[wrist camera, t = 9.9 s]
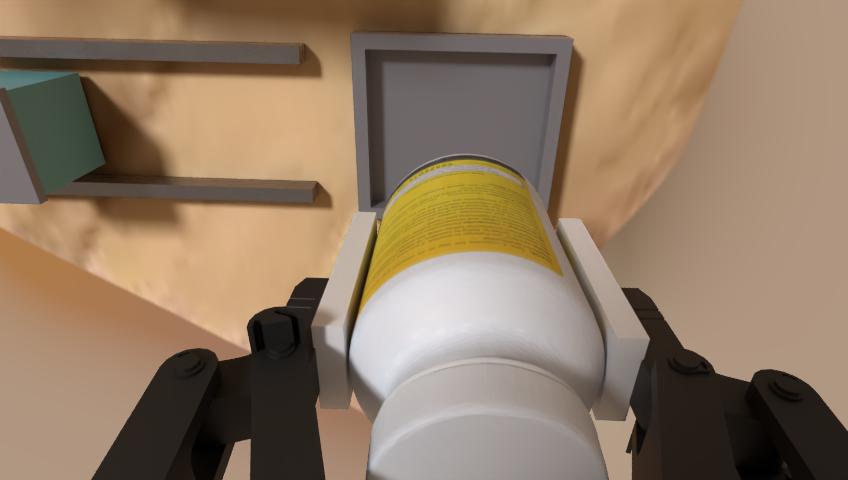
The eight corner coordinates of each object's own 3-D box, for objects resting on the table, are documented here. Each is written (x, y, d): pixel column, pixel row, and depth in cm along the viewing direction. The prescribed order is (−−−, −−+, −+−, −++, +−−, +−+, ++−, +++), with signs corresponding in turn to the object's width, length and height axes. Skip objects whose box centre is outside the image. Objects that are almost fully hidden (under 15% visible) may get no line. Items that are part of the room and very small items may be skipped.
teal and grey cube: (-4, 67, 31) (-107, 87, 25) (80, 69, 30) (-4, 89, 25) (32, 163, 34) (-52, 201, 28) (109, 166, 34) (40, 204, 28)
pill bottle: (357, 178, 19) (251, 416, 8) (521, 123, 17) (630, 324, 7) (415, 309, 21) (389, 607, 11) (560, 270, 20) (679, 564, 10)
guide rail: (-31, 35, 30) (-53, 37, 29) (304, 43, 30) (298, 46, 28) (28, 185, 35) (11, 193, 34) (318, 194, 34) (313, 203, 33)
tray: (355, 30, 29) (350, 33, 27) (565, 35, 29) (573, 39, 27) (363, 206, 35) (359, 218, 33) (540, 211, 34) (545, 224, 33)
